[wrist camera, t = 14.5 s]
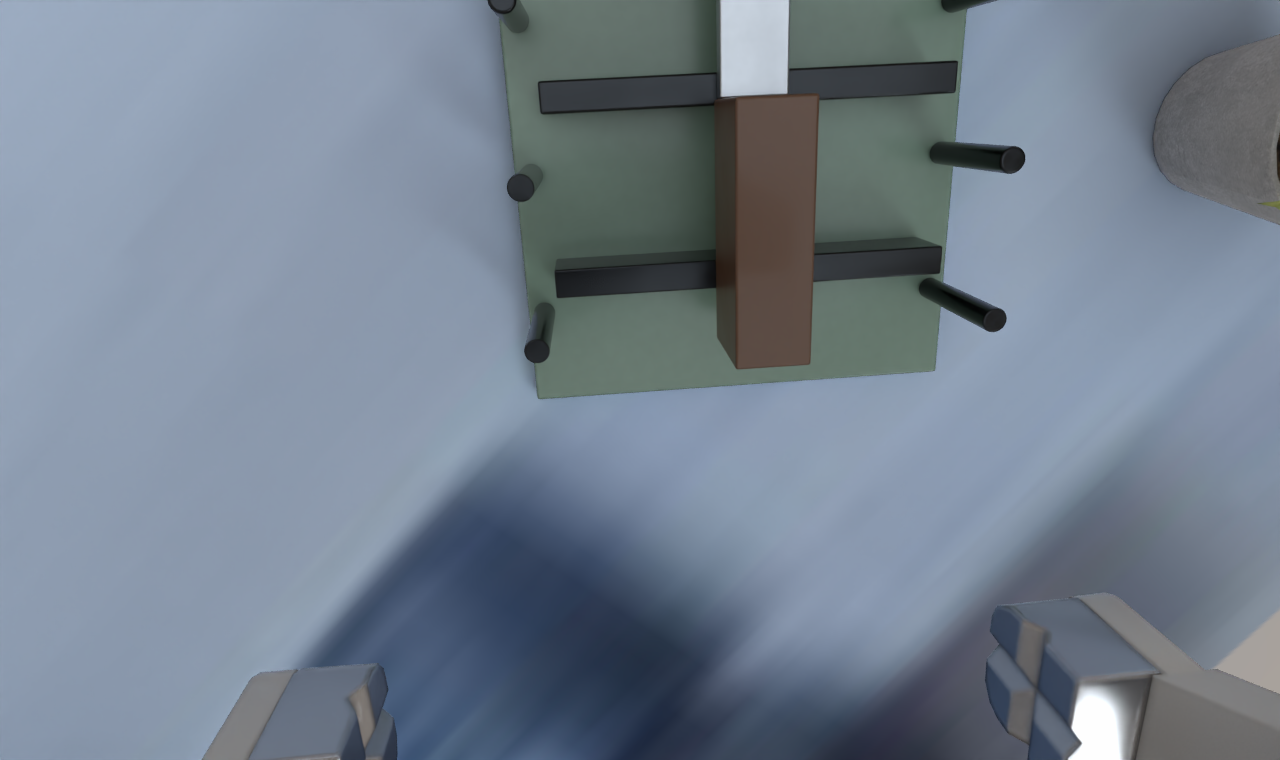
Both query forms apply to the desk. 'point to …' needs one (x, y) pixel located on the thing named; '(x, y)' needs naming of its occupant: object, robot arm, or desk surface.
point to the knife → (763, 190)
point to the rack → (685, 187)
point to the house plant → (1226, 129)
